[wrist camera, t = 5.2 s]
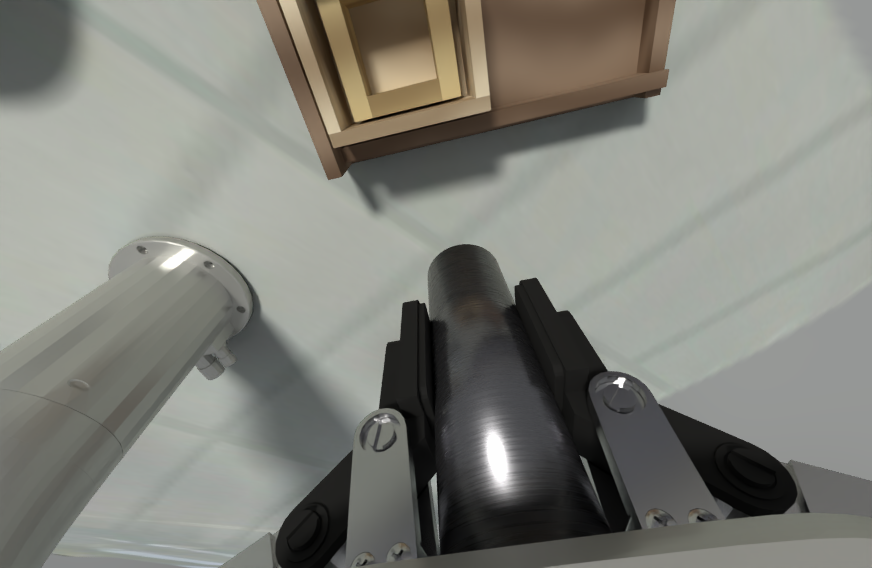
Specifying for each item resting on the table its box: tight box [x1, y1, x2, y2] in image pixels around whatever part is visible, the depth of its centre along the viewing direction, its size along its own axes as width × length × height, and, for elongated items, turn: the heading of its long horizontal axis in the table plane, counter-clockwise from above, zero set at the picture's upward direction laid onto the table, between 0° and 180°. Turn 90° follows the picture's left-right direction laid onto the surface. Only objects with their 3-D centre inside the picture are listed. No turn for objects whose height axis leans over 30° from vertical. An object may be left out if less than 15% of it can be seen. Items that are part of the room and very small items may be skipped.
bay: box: [257, 0, 676, 180], centre depth 19 cm, size 13×24×5 cm, turn 102°
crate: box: [279, 0, 491, 148], centre depth 19 cm, size 9×10×5 cm
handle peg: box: [428, 244, 612, 555], centre depth 10 cm, size 3×3×10 cm
